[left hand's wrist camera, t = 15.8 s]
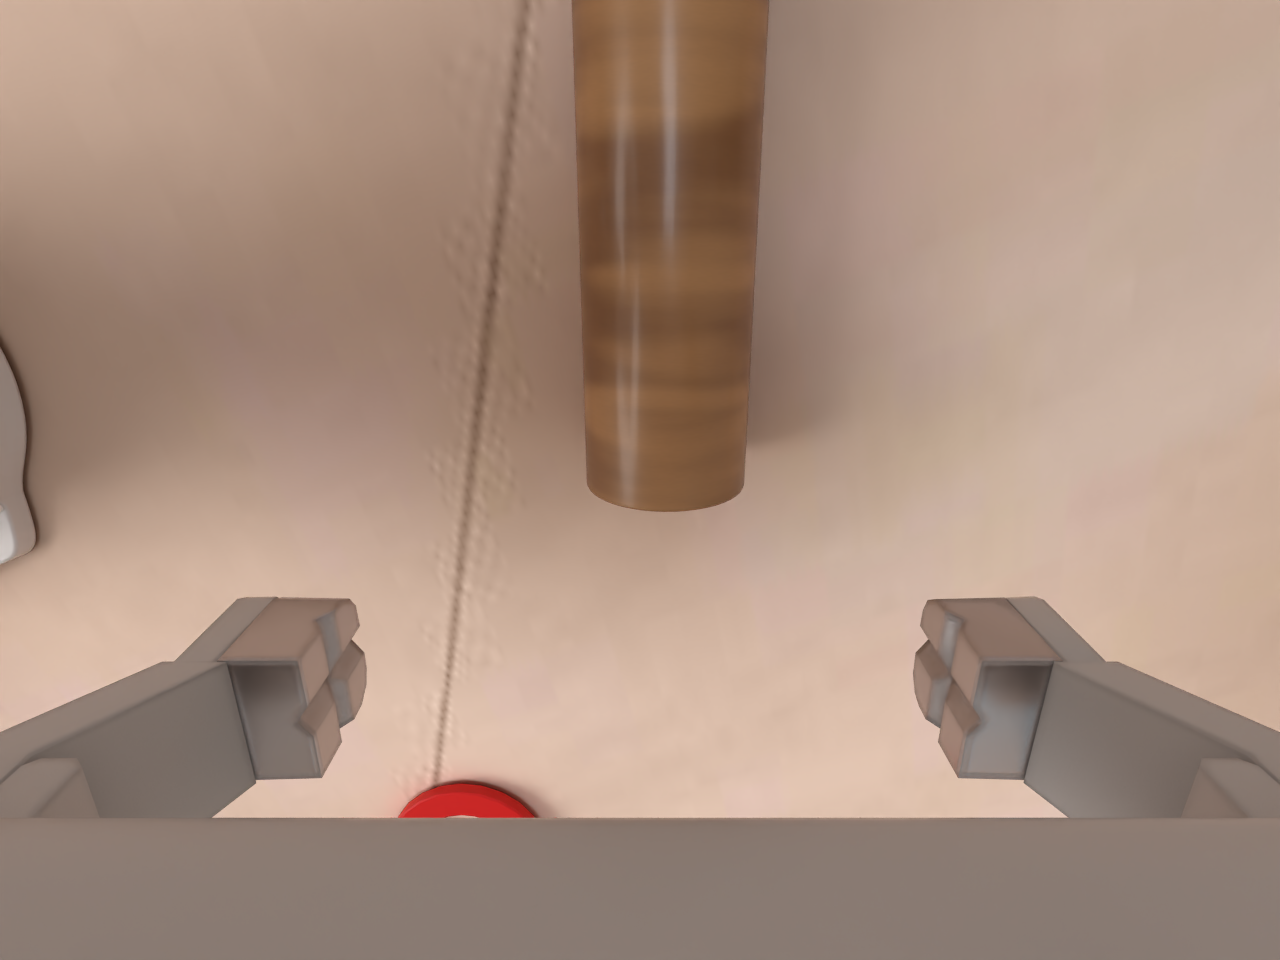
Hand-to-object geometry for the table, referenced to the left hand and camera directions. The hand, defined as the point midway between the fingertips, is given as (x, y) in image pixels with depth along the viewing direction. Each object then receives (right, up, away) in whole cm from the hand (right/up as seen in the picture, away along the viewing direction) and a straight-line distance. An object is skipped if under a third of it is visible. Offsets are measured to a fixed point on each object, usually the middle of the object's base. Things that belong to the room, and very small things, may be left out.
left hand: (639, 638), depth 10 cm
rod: (+1, +15, +16) cm, 22 cm away
